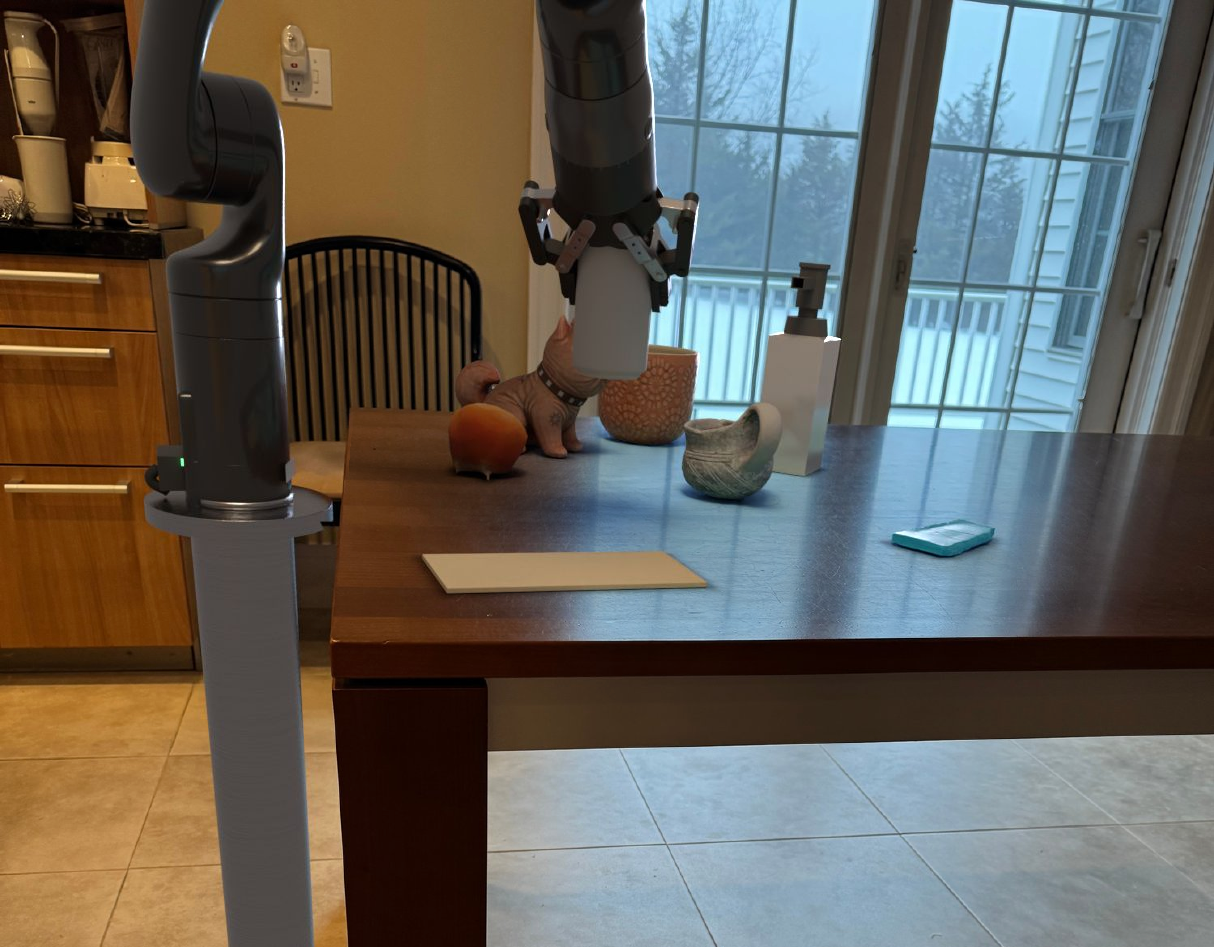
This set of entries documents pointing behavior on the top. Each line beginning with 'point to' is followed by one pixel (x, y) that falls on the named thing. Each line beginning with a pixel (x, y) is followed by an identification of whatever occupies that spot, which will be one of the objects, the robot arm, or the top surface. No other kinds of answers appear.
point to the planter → (652, 398)
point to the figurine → (537, 393)
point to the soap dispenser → (802, 376)
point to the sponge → (945, 537)
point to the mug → (732, 452)
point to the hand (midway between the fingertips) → (616, 300)
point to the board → (559, 571)
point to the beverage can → (611, 314)
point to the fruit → (485, 439)
